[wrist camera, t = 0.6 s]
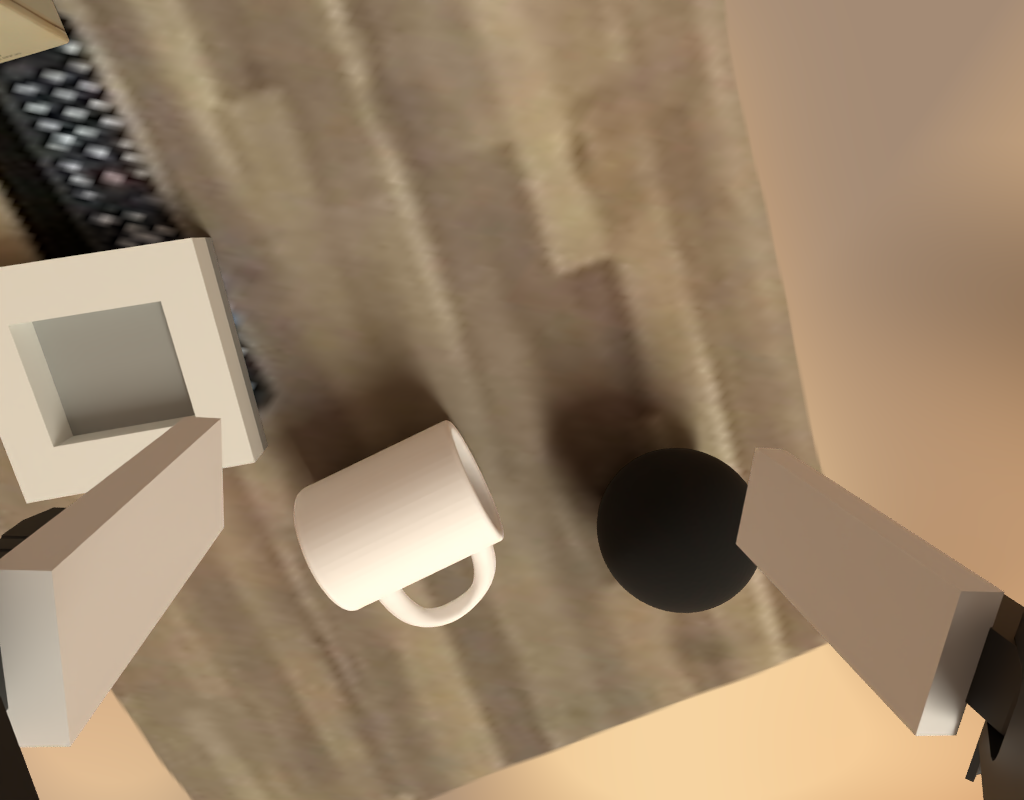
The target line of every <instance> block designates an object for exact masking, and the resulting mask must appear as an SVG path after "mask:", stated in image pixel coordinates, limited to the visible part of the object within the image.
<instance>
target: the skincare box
mask: <svg viewBox="0 0 1024 800" xmlns="http://www.w3.org/2000/svg"><path fill="white" fill-rule="evenodd" d="M68 42H69V39H68V36H67V34H66V32H65V29H64V27H63V25H62V22H61V20H60V17H59V15H58V13H57V10H56V8H55V6H54V4H53V1H52V0H0V63H3V62H6V61H10V60H13V59H16V58H20V57H24V56H27V55H31V54H34V53H37V52H41V51H44V50H47V49H51V48H54V47H57V46H60V45H64V44H67V43H68Z"/></svg>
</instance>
